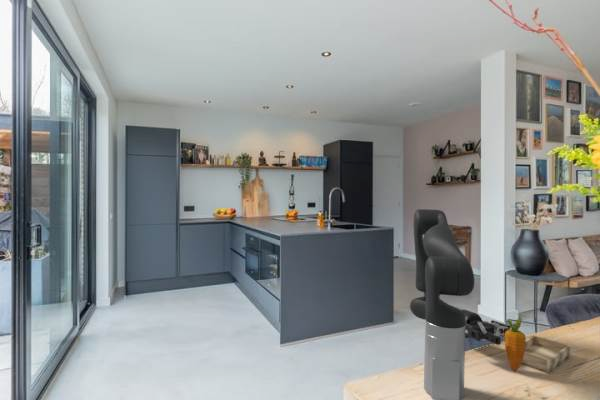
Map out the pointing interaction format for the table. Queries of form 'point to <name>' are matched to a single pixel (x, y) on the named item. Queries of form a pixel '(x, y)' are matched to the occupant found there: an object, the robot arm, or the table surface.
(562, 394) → the table surface
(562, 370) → the table surface
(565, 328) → the table surface
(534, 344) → the oak tray
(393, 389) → the table surface
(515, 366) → the carrot
